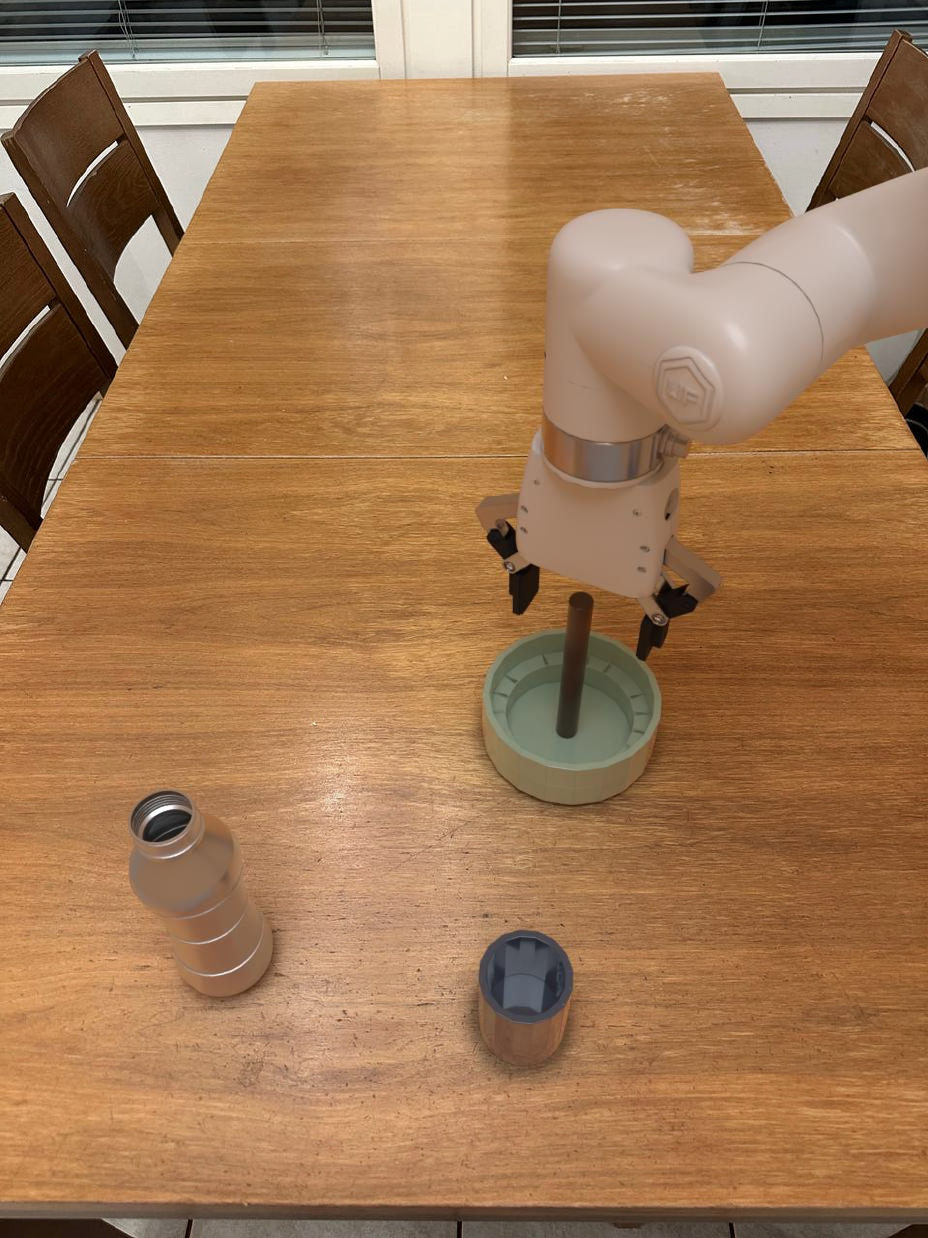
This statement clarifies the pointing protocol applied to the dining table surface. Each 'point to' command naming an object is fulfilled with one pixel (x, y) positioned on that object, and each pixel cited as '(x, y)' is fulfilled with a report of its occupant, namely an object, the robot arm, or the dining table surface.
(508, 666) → the bowl
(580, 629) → the stirring stick
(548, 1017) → the utensil pot
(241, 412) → the dining table surface
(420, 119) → the dining table surface
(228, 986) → the plastic bottle
